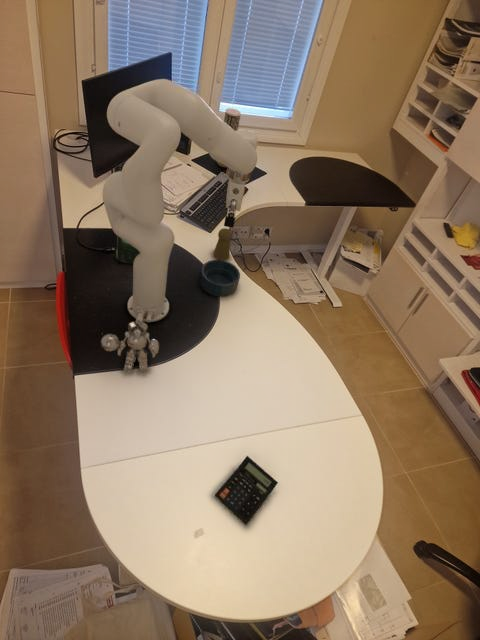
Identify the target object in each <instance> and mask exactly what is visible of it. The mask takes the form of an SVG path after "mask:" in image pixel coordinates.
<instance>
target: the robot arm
mask: <svg viewBox="0 0 480 640" xmlns="http://www.w3.org/2000/svg"><path fill="white" fill-rule="evenodd" d="M106 110H107V111H106V118H107V123H108V124H109V126H110V128H111V129H112V130H113V131H114V132H115V133H116V134H117V135H120V136H121V137H123V138H125V139H126V140H128V141H129V142H132V143H133V144H135V145H137V146H139V148H137V150H136V151H135V152H134V153H133V154H132V155H131V157H129V158H128V159H127V160H126V161H125V162H124V164H123V165H122V169H121V170H119V171H115V172H113V173H111V174H110V175H109V176H108V177H107V178H106V180H105V181H104V184H103V188H102V201H103V205H104V208H105V212H106V215H107V218H108V221H109V224H110V228H111V229H112V232H113V233H114V234H115V236H117V238H118V237H120V238H121V239H123V240H124V241H126V242H127V243H129V244H130V245H132V246H133V247H134V248H136V249H137V250H138V251H139V252H140V254H139V255H137V257H136V258H135V260H134V263H133V264H132V274H133V275H132V295H131V296H130V297H129V299H128V301H127V311H128V313H129V314H130V316H131V317H132V318H134V319H135V324H136V325H137V326H139V325H140V324H141V323H142V322H144V323H153V322H158V321H160V320H162V319H164V318H166V316H167V315H168V314H169V311H170V303H169V301H168V299H167V297H166V290H167V280H168V270H169V262H170V258H171V257H170V256H171V253H172V251H173V247H174V244H175V240H176V238H175V234H174V232H173V230H172V229H171V228H170V227H169V225H167V224H166V223H165V222H163V219H164V217H165V212H166V211H165V210H166V209H165V199H164V193H163V184H162V173H163V170H164V169H165V167H166V166H167V164H168V162H169V160H171V158H172V156H173V154H174V153H175V152H176V151H177V149H178V147H179V145H180V142H181V137H182V134H183V135H184V136H186V137H187V138H189V139H190V140H191V142H192V143H194V144H195V145H196V146H198V147H199V148H200V149H202V150H203V151H205V152H206V153H208V154H209V156H210V158H212V160H214V161H216V163H217V162H219V163H221V164H223V165H225V166H227V168H226V172H225V177H226V178H227V179H228V183H227V189H226V198H225V211H226V212H227V213H226V215H225V218H224V222H223V227H225V228H231V229H232V228H234V226H235V222H236V213H237V211H238V212H240V211H241V209H242V204H243V199H244V194H245V188H246V183H248V182H249V181H250V178H251V174H252V172H253V171H254V170H255V168H256V166H257V162H258V153H257V147H258V143H259V142H258V141H259V140H258V136H257V134H256V133H255V132H253V131H251V130H248V129H238V130H237V131H234V130H233V129H232V128H231V127H230V126H229V125H227V124H226V123H225V122H224V120H223V119H221V118H220V117H219V116H218V115H217V114H216V113H215V111H214V110H213V109H212V108H211V107H210V106H209V104H207V102H205V100H204V99H203V98H202V97H201V96H200V95H199V94H198V93H196V92H194V91H192V90H190V89H189V88H186V87H184V86H183V85H181V84H178V83H177V82H175V81H172V80H170V79H168V78H159V79H154V80H150V81H147V82H144V83H141V84H139V85H136V86H133V87H130V88H128V89H125V90H123V91H121V92H119V93H117V94H116V95H115V96H114V97H113V98H112V99H111V100H110V102H109V104H108V106H107V109H106Z"/></svg>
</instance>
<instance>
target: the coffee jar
mask: <svg viewBox="0 0 480 640" xmlns="http://www.w3.org/2000/svg"><path fill="white" fill-rule="evenodd" d="M116 238H117V241H116V253H115V257H116V260H117V261H118V262H120V263H123V264H130V265H133V263H134V260H135V258H136V257H137V255H139V254H140V252H139V251H138V250H137V249H136V248H134V247H133V246H132V245H130V244H129V243H127V242H126V241H124V240H123V239H121V238H120V237H118V236H117V237H116Z"/></svg>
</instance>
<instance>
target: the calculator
mask: <svg viewBox="0 0 480 640" xmlns="http://www.w3.org/2000/svg"><path fill="white" fill-rule="evenodd" d="M278 484H279V482H278V481H277V480H276V479H275V478H274V477H273V476H271V475H270V474H269V473H268V472H266V470H264V469H263V468H262V467H261V466H260V465H259V464H257V462H255V461H254V460H253V459H252V458H251V457H249V456H248V455H246V457H244V459H243V460H242V461H241V463H240V464H239V465H238V467H237V468H236V469H235V471H234V472H233V473H232V474H231V475H230V476H229V478H228V479H227V480H226V481H225V482H224V483H223V485H222V486H221V487H220V488H219V489H218V490H217V491H216V492H215V494H214V497H215V498H216V499H218V501H220V502H221V503H222V504H223V506H225V507H226V508H227V509H228V510H229V511H230V512H231V513H233V515H235V516H236V518H237V519H239V520H240V521H241V522H242V523H243V524H244V525H245V526H247V525H248V524H249V522H250V521H251V520H252V519H253V517H254V516H255V515H256V513H257V512H258V510H259V509H260V508H261V507H262V505H263V504H264V503H265V502H266V501H267V498H268V497H269V496H270V495H271V493H272V492H273V491H274V490H275V488H276V486H277V485H278Z"/></svg>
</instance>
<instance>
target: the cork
mask: <svg viewBox="0 0 480 640" xmlns="http://www.w3.org/2000/svg"><path fill="white" fill-rule="evenodd" d="M217 237H218V239H217V242H216V245H215V248H214V250H213V253H212V256H213V257H214V259H215V260H224V261H227V260H229V259H230V251H231V241H232V239H233V237H234V234H233V231H232V230H231V229H229V228H227V227H223V228H221V229H219V231H218V232H217Z"/></svg>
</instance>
